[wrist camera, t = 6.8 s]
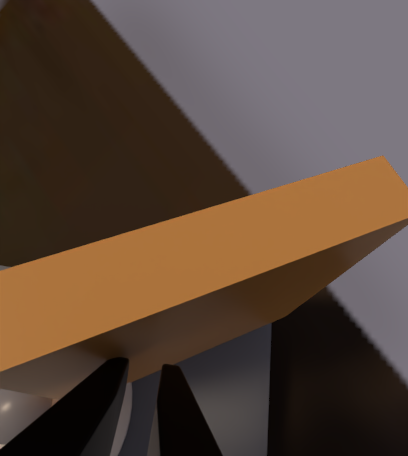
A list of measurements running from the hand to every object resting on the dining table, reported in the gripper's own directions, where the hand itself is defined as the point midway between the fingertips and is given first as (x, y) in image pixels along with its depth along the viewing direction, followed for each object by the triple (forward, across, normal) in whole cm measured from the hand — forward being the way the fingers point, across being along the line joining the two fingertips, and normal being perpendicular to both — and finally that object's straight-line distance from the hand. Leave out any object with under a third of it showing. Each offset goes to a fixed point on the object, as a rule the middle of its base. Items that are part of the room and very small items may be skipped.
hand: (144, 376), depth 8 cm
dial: (+6, +1, +5) cm, 7 cm away
